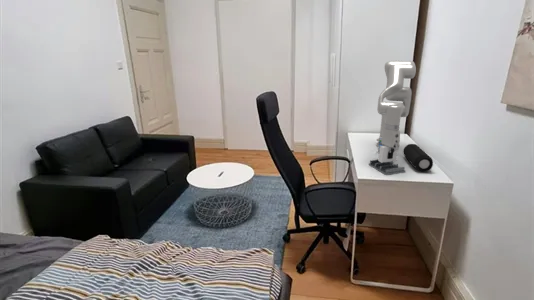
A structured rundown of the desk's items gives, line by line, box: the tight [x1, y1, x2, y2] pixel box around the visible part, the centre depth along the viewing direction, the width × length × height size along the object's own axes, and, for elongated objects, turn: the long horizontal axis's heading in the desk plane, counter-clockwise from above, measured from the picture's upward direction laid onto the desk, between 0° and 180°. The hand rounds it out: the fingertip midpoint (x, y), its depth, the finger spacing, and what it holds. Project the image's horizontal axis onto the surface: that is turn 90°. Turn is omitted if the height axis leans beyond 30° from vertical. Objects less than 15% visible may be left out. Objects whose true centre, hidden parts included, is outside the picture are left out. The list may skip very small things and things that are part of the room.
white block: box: [377, 146, 399, 163], centre depth 169 cm, size 10×3×9 cm, turn 107°
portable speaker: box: [402, 143, 434, 173], centre depth 176 cm, size 26×10×10 cm, turn 172°
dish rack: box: [368, 158, 406, 176], centre depth 171 cm, size 16×13×3 cm
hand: (387, 157), depth 169 cm, fingers closed on white block, 3 cm apart
